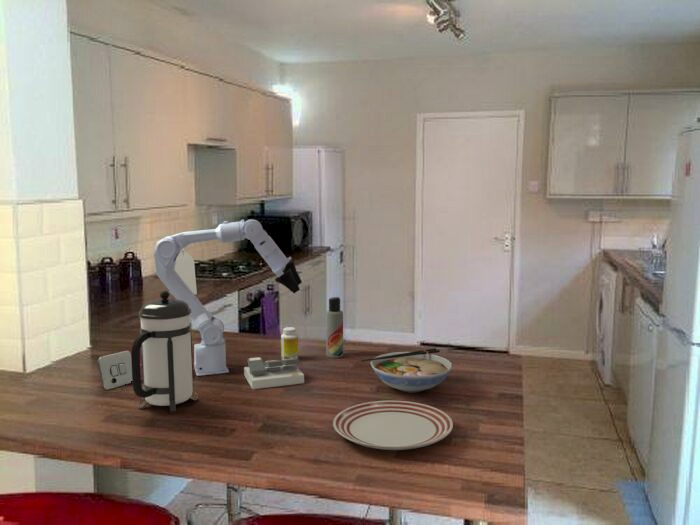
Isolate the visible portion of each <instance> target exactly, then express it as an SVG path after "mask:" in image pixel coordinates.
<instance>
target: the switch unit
mask: <svg viewBox="0 0 700 525" xmlns="http://www.w3.org/2000/svg"><path fill="white" fill-rule="evenodd" d="M297 365H298V364H295V365H283V366H277V367H265V368H266V374H261V375H252V374H251V371H250V368H249V366H244V367H243V371H244V372H243V375H244V377H245V379H246V380H247V382H248V385H249V386H250V388H251V389H252V390H258V389H265V388H267V389H268V388H275V387H284V386H291V385H292V386H293V385H299V384H305V373H303V372H302V371H301V370H300V368H299V367H298V366H297Z"/></svg>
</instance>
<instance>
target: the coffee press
mask: <svg viewBox="0 0 700 525" xmlns="http://www.w3.org/2000/svg"><path fill="white" fill-rule="evenodd" d="M159 297H160V299H154V300H151V301H148V302H145V303H144V304H143V305H142V307H141V308H140V311H138V317H139V318H140V327H139V333H140V334H139V335H138V336H137V337H136V338H135V340H134V341H133V344H132V346H131V359H132V381H133V382H132V389H133V392H134V394H135V396H137V397H139V398H141V400H140V401H139V402H138V408H139V409H140V410H143V409H145V408H146V407H147V406H148V405H149V404H150V405H153V406H157V407H158V406H160V407H162V406H163V407H166V406H168V409H169V413H170V414H176V413H177V408H176V407H177V406H176V405H179V404H181V403H184V402H186V401H188V400H189V399H191V400H192V401H194V402H195V401H196V402H197V401H198V400H199V396H198V394H197V393H196V391H194V390H195V389H194V369H193V368H194V362H193V341H192V338H193V337H192V322H191V317H190V314H191V309H190V308H189V306H188V304H187V303H186V302H184V301H182V300H178V299H176V298H170V293H169V292H168V291H167V290H162V291H161V292H160V293H159ZM140 356H141V357H140ZM141 376H142V377H141ZM141 378H142V379H141ZM193 393H194V394H195V395H196V397H195V398H193V397H192V395H193ZM144 400H145V401H146V403H144V405H143V406H141V405H142V403H143V402H144Z"/></svg>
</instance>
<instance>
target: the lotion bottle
mask: <svg viewBox="0 0 700 525" xmlns="http://www.w3.org/2000/svg"><path fill="white" fill-rule="evenodd" d="M325 336H326V337H325V338H326V340H325V341H326V342H325V344H326V345H325V346H326V347H325V350H326V353H325V355H326V357H327V358H330V359H339V357H340V358H343V356H344V311H342V310H341V298H340V297H339V296H334V297H333V296H332V297H330V298H328V310H326V312H325Z"/></svg>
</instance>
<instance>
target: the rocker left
mask: <svg viewBox="0 0 700 525" xmlns="http://www.w3.org/2000/svg"><path fill="white" fill-rule="evenodd" d="M247 364H248V366H247V367H249V368H250V371H251V374H252V375H261V374H266V368H265V366H264V361H263V358H262V357H250V358H249V357H248V358H247Z"/></svg>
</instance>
